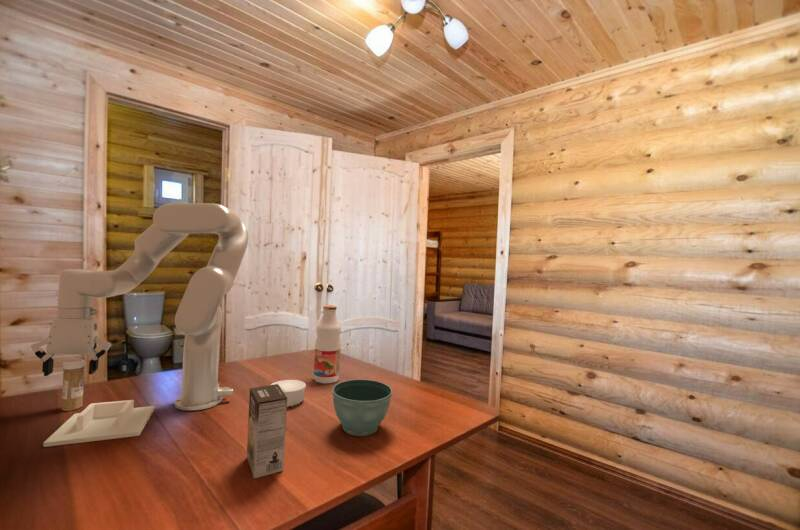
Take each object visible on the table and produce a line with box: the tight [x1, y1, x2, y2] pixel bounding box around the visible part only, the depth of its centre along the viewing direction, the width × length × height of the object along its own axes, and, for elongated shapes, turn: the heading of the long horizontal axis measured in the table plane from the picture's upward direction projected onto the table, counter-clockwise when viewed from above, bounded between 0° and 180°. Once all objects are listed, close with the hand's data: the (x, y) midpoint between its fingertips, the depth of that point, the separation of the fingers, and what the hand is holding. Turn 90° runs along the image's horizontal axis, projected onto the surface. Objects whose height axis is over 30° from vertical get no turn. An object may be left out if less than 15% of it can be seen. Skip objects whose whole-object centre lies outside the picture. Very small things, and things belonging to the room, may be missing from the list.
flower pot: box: [332, 379, 393, 437], centre depth 98 cm, size 16×16×11 cm
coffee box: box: [246, 384, 288, 479], centre depth 79 cm, size 9×6×16 cm
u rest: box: [42, 399, 156, 448], centre depth 92 cm, size 18×16×4 cm
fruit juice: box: [313, 304, 342, 384], centre depth 135 cm, size 9×9×28 cm
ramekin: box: [270, 379, 307, 408], centre depth 113 cm, size 11×11×5 cm
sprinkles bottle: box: [61, 358, 86, 412], centre depth 101 cm, size 5×5×13 cm
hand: (70, 373), depth 100 cm, fingers open, 9 cm apart
